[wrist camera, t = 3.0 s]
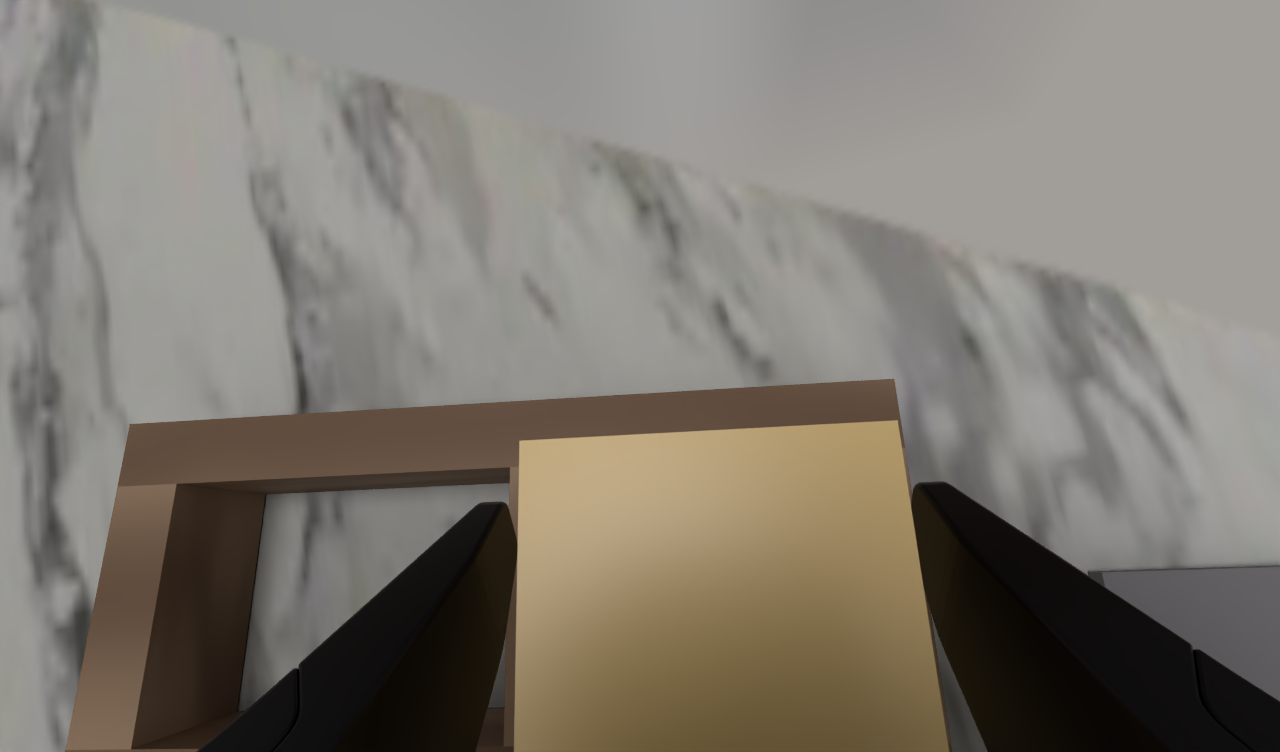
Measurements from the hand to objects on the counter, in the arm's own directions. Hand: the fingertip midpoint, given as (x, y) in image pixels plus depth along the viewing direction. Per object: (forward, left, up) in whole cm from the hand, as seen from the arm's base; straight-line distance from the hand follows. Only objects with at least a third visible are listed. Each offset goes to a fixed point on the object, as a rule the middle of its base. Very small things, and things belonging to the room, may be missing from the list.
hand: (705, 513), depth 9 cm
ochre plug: (-1, 0, -7) cm, 7 cm away
